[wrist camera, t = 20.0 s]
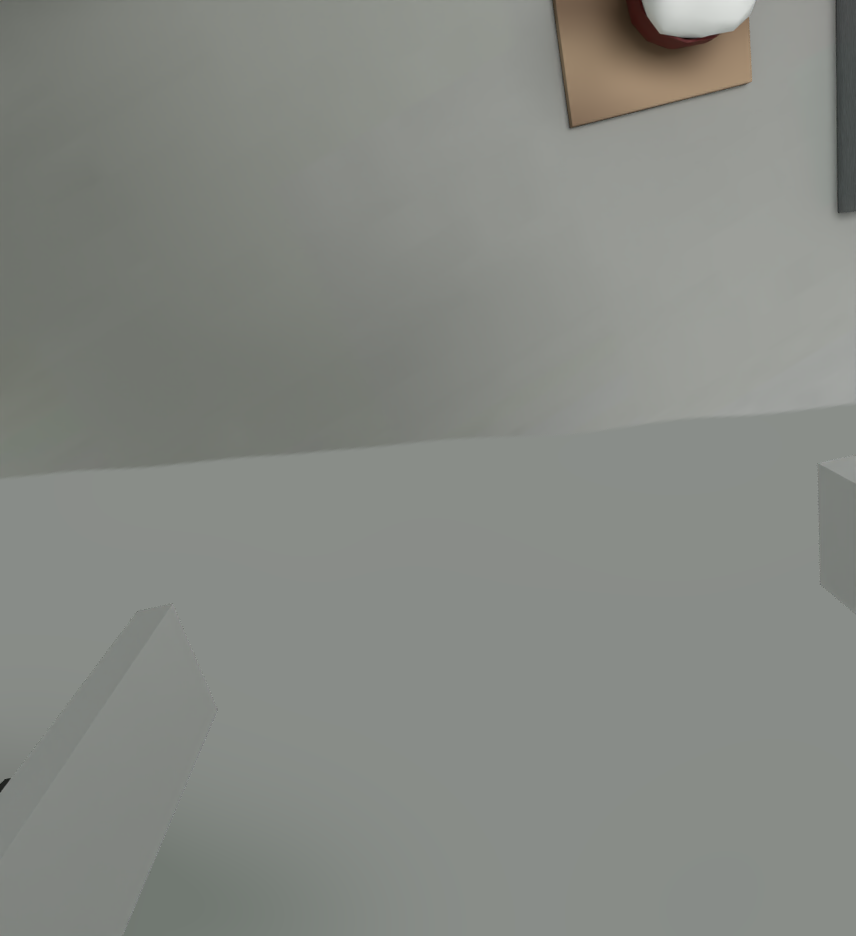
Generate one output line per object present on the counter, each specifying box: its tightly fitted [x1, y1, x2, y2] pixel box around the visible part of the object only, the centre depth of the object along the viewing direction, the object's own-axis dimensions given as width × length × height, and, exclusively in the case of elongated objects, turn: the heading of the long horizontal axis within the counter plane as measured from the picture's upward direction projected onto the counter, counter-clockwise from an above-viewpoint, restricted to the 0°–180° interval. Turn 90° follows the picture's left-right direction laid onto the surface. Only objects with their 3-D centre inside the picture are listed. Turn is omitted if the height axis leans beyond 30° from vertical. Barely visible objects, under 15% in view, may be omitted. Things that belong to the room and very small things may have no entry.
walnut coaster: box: [553, 0, 752, 128], centre depth 33 cm, size 10×10×1 cm
